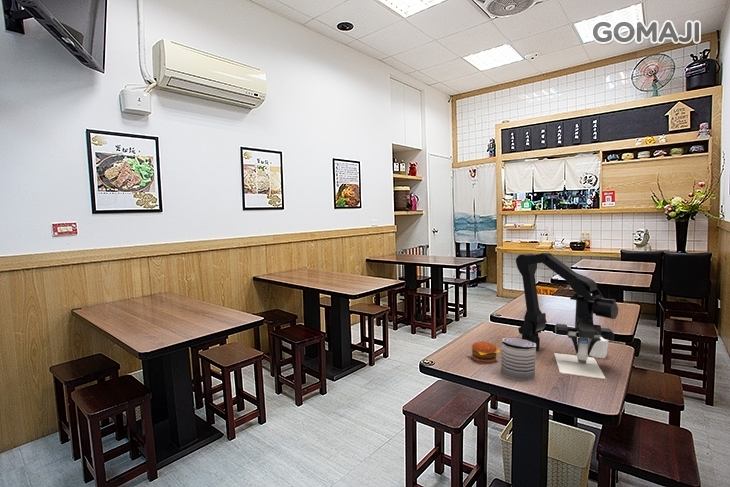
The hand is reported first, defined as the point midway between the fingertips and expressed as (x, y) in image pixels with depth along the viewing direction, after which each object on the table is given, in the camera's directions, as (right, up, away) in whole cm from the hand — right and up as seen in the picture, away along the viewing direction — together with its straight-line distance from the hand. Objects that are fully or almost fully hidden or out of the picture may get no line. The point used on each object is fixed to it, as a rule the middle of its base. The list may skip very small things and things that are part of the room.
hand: (582, 354), depth 145 cm
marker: (0, -3, 0) cm, 3 cm away
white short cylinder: (+11, -3, +9) cm, 15 cm away
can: (-28, -5, -8) cm, 29 cm away
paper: (-2, -4, -1) cm, 5 cm away
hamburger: (-35, -4, +5) cm, 36 cm away
